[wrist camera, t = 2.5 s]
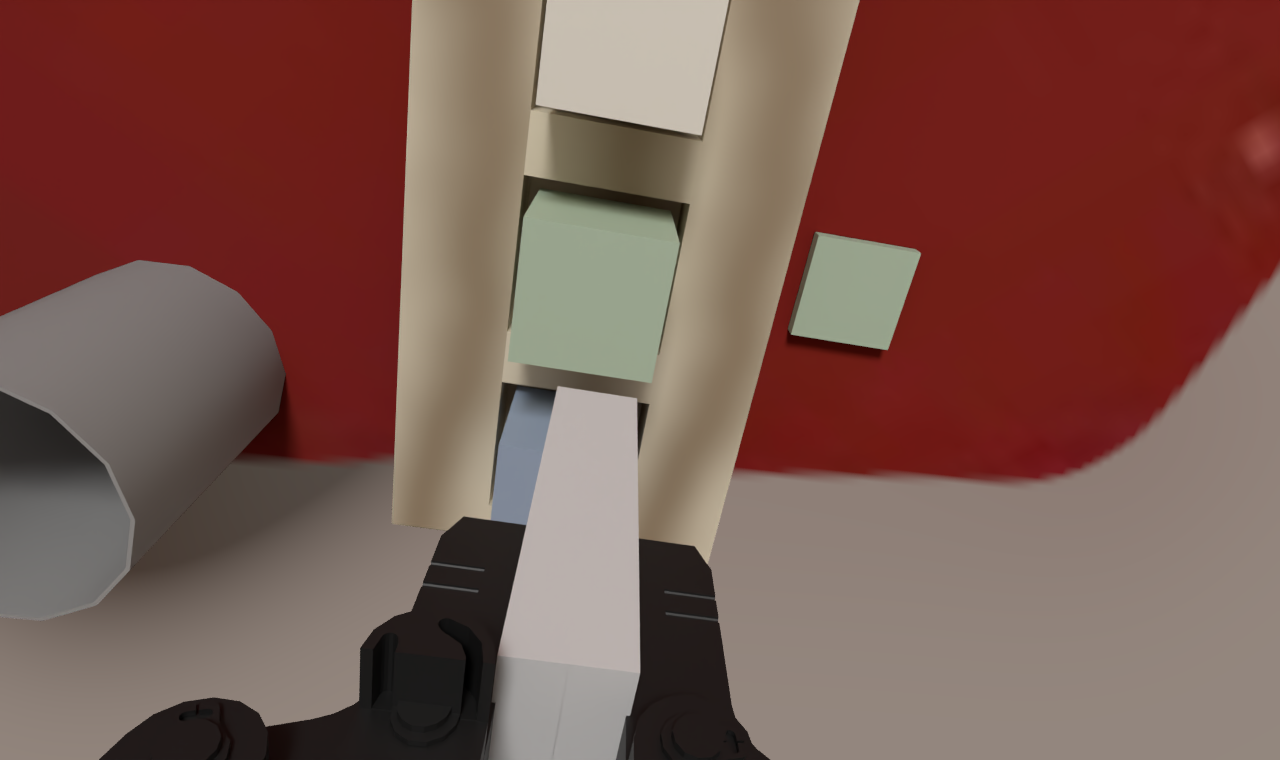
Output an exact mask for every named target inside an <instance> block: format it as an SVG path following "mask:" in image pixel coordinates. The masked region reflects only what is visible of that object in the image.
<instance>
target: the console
mask: <svg viewBox="0 0 1280 760" xmlns="http://www.w3.org/2000/svg"><path fill="white" fill-rule="evenodd" d="M546 4H547V0H412V23H411V48H410V74H409V99H408V124H407V150H406V175H405V200H404V226H403V251H402V277H401V302H400V327H399V353H398V378H397V403H396V429H395V454H394V480H393V506H392V507H393V508H392V524H398V525H406V526H413V527H421V528H429V529H436V530H444V531H447V530H449V529H450V528H451V527H452V526H453V525H454V524H455V523H457V522H458V521H459V520H460V519H461V518H462V517H464V516H465V517H472V518H479V519H486V520H491V511H492V502H493V493H494V484H495V474H496V465H497V456H498V447H499V442H500V439H501V436H502V433H503V430H504V427H505V423H506V420H507V417H508V414H509V411H510V407H511V404H512V401H513V398H514V395H515V392H516V388H517V386H523V387H530V388H537V389H543V390H550V391H557V387H558V386H560V387H567V388H573V389H580V390H586V391H593V392H599V393H606V394H612V395H619V396H625V397H632V398H637V438H638V522H639V538H640V539H647V540H654V541H662V542H669V543H676V544H683V545H690V546H695V547H696V549H697V550H698V552H699V553H700V555H701V556H702V557H703V559H704V560H705V562H706V563H707V565H708V562H709V558H710V554H711V550H712V547H713V543H714V539H715V536H716V532H717V528H718V524H719V521H720V517H721V513H722V509H723V505H724V501H725V498H726V494H727V491H728V487H729V483H730V480H731V476H732V472H733V469H734V465H735V461H736V457H737V454H738V450H739V446H740V443H741V439H742V435H743V431H744V428H745V424H746V420H747V417H748V413H749V409H750V405H751V402H752V398H753V394H754V391H755V387H756V383H757V379H758V376H759V372H760V368H761V365H762V361H763V357H764V353H765V350H766V346H767V342H768V338H769V335H770V331H771V327H772V324H773V320H774V316H775V312H776V309H777V305H778V301H779V298H780V294H781V290H782V286H783V283H784V279H785V275H786V272H787V268H788V264H789V260H790V257H791V253H792V249H793V246H794V242H795V238H796V234H797V231H798V227H799V223H800V220H801V216H802V212H803V208H804V205H805V201H806V197H807V193H808V190H809V186H810V182H811V179H812V175H813V171H814V167H815V164H816V160H817V156H818V153H819V149H820V145H821V141H822V138H823V134H824V130H825V127H826V123H827V119H828V115H829V112H830V108H831V104H832V101H833V97H834V93H835V89H836V86H837V82H838V78H839V75H840V71H841V67H842V63H843V60H844V56H845V52H846V49H847V45H848V41H849V37H850V34H851V30H852V26H853V22H854V19H855V15H856V11H857V8H858V4H859V0H729V2H728V7H727V12H726V17H725V22H724V27H723V32H722V37H721V42H720V47H719V52H718V57H717V62H716V67H715V72H714V77H713V82H712V87H711V92H710V97H709V102H708V106H707V111H706V116H705V121H704V126H703V131H702V135H696V134H691V133H685V132H680V131H674V130H669V129H664V128H658V127H653V126H647V125H642V124H636V123H631V122H626V121H620V120H615V119H609V118H604V117H599V116H593V115H588V114H582V113H577V112H571V111H566V110H561V109H555V108H550V107H544V106H539V105H536V97H537V87H538V78H539V69H540V60H541V50H542V41H543V32H544V23H545V14H546ZM540 188H543V189H548V190H554V191H560V192H566V193H571V194H577V195H583V196H589V197H594V198H600V199H606V200H612V201H617V202H623V203H629V204H635V205H640V206H646V207H652V208H658V209H663V210H669V211H671V213H672V217H673V221H674V224H675V228H676V231H677V235H678V239H679V242H680V245H679V250H678V255H677V260H676V265H675V270H674V275H673V280H672V285H671V290H670V295H669V300H668V305H667V309H666V314H665V319H664V324H663V329H662V334H661V339H660V344H659V349H658V354H657V359H656V364H655V369H654V374H653V379H652V383H647V382H641V381H634V380H628V379H621V378H614V377H608V376H601V375H595V374H588V373H581V372H575V371H568V370H562V369H555V368H548V367H542V366H535V365H529V364H522V363H515V362H509V361H508V355H509V345H510V336H511V327H512V318H513V309H514V299H515V290H516V281H517V272H518V262H519V253H520V244H521V235H522V226H523V217H524V215H525V213H526V212H527V210H528V208H529V207H530V205H531V203H532V201H533V200H534V198H535V196H536V195H537V193H538V191H539V190H540Z"/></svg>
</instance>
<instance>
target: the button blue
mask: <svg viewBox="0 0 1280 760" xmlns="http://www.w3.org/2000/svg"><path fill="white" fill-rule="evenodd" d="M555 396H556V391H550V390H543V389H537V388H530V387H523V386H517V388H516V392H515V395H514V398H513V401H512V404H511V407H510V411H509V414H508V417H507V420H506V423H505V427H504V430H503V433H502V436H501V439H500V442H499V447H498V456H497V465H496V474H495V484H494V493H493V502H492V511H491V520H493V521H501V522H508V523H515V524H522V525H527V521H528V516H529V512H530V507H531V503H532V499H533V494H534V490H535V485H536V481H537V476H538V472H539V467H540V463H541V458H542V454H543V449H544V445H545V441H546V436H547V432H548V427H549V423H550V418H551V414H552V409H553V405H554V400H555Z"/></svg>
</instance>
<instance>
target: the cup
mask: <svg viewBox="0 0 1280 760" xmlns="http://www.w3.org/2000/svg"><path fill="white" fill-rule="evenodd" d="M285 375H286V373H285V370H284V367H283V364H282V361H281V358H280V355H279V352H278V349H277V346H276V343H275V340H274V336H273V333H272V331H271V330H270V329H269V327H268V326H267V325H266V324H265V323H264V322H263V321H262V319H261V318H260V317H259V316H258V315H257V314H256V313H255V311H254V310H253V309H252V308H251V307H250V306H249V305H248V303H247V302H246V301H245V300H244V299H243V298H242V297H241V295H240V294H239V293H238V292H236V291H234V290H233V289H231V288H229V287H227V286H225V285H223V284H222V283H220V282H218V281H216V280H214V279H212V278H210V277H209V276H207V275H205V274H203V273H201V272H199V271H197V270H196V269H194V268H192V267H190V266H182V265H174V264H166V263H158V262H150V261H141V260H137V261H135V262H132V263H129V264H126V265H123V266H120V267H117V268H115V269H112V270H109V271H106V272H103V273H100V274H97V275H95V276H92V277H90V278H88V279H86V280H83V281H81V282H79V283H76V284H74V285H72V286H69V287H67V288H65V289H63V290H60V291H58V292H56V293H53V294H51V295H49V296H47V297H44V298H42V299H40V300H37V301H35V302H33V303H30V304H28V305H26V306H24V307H21V308H19V309H17V310H14V311H12V312H10V313H7V314H5V315H3V316H1V317H0V617H5V618H18V619H28V620H41V621H44V620H47V619H51V618H54V617H58V616H61V615H65V614H68V613H71V612H75V611H78V610H82V609H85V608H89V607H92V606H96V605H97V604H98V603H99V602H100V601H101V600H102V599H103V598H104V597H105V596H106V595H107V594H108V593H109V592H110V590H112V588H114V586H115V585H116V584H117V583H118V582H119V581H120V580H121V579H122V578H123V577H124V576H125V575H126V574H127V573H128V572H129V571H130V570H131V568H132V567H133V566H134V565H135V564H136V563H137V562H138V561H139V560H140V559H141V558H142V557H143V556H144V555H145V553H146V552H147V551H148V550H149V549H150V548H151V547H152V546H153V545H154V544H155V543H156V542H157V541H158V540H159V539H160V538H161V537H162V535H163V534H164V533H165V532H166V531H167V530H168V529H169V528H170V527H171V526H172V525H173V524H174V523H175V522H176V521H177V520H178V518H179V517H180V516H181V515H182V514H183V513H184V512H185V511H186V510H187V509H188V508H189V507H190V506H191V505H192V504H193V502H194V501H195V500H196V499H197V498H198V497H199V496H200V495H201V494H202V493H203V492H204V491H205V490H206V489H207V488H208V487H209V486H210V484H211V483H212V482H213V481H214V480H215V479H216V478H217V477H218V476H219V475H220V474H221V473H222V472H223V471H224V470H225V469H226V467H227V466H228V465H229V464H230V463H231V462H232V461H233V460H234V459H235V458H236V457H237V456H238V455H239V454H240V453H241V452H242V450H243V449H244V448H245V447H246V446H247V445H248V444H249V443H250V442H251V441H252V440H253V439H254V438H255V437H256V436H257V435H258V433H259V432H260V431H261V430H262V429H263V428H264V427H265V426H266V425H267V424H268V423H269V422H270V421H271V420H272V419H273V418H274V416H275V415H276V414H277V413H278V412H279V407H280V401H281V396H282V391H283V385H284V380H285Z"/></svg>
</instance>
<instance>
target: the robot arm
mask: <svg viewBox="0 0 1280 760" xmlns="http://www.w3.org/2000/svg"><path fill="white" fill-rule="evenodd" d="M360 650H361V651H360V693H359V696H360V697H359V701H358V702H357V703H355V704H354V705H352V706H350V707H347V708H345V709H343V710H341V711H339V712H336V713H334V714H331V715H327V716H323V717H319V718H315V719H311V720H305V721H299V722H292V723H286V724H281V725H274V726H268V727H265V725H264V723H263V721H262V719H261V717H260V715H259V713H257V712H256V711H254V710H253V709H251V708H250V707H248V706H246V705H245V704H243V703H242V702H240V701H234V700H227V699H220V698H207V699H201V700H194V701H187V702H183V703H181V704H178V705H176V706H173V707H171V708H168V709H166V710H163V711H161V712H158V713H156V714H153V715H152V716H151V717H149V718H148V719H147V720H145V721H144V722H142V723H141V724H140V725H138V726H137V727H135V728H134V729H133V730H131V731H130V732H128V733H127V734H126V735H125V736H124V737H123V738H122V739H121V740H120V741H118V742H117V744H115V745H114V746H113V747H112V748H111V749H110V750H109V751H108V752H107V753H106V754H105V755H103V756H102V757H101V758H100V759H99V760H770V759H769V758H767V757H766V756H765V755H764V754H762V753H761V752H760V751H758V750H757V749H756V748H755V747H754V745H753V744H752V743H751V740H750V738H749V735H748V732H747V731H746V730H745V729H744V727H743V726H742V725H741V724H740V723H739V722H738V721H737V719H736V718H735V715H734V712H733V708H732V705H731V698H730V691H729V686H728V678H727V671H726V665H725V659H724V652H723V645H722V638H721V632H720V626H719V623H718V612H717V605H716V601H715V592H714V586H713V579H712V572H711V569H710V568H709V566H708V565H707V563H706V562H705V560H704V559H703V557H702V556H701V555H700V553H699V552H698V550H697V549H696V547H695V546H690V545H683V544H676V543H669V542H662V541H654V540H647V539H640V538H639V522H638V438H637V398H632V397H625V396H619V395H612V394H606V393H599V392H593V391H586V390H580V389H573V388H567V387H560V386H558V387H557V391H556V396H555V400H554V405H553V409H552V414H551V418H550V423H549V427H548V432H547V436H546V441H545V445H544V449H543V454H542V458H541V463H540V467H539V472H538V476H537V481H536V485H535V490H534V494H533V499H532V503H531V507H530V512H529V516H528V521H527V525H522V524H515V523H508V522H501V521H493V520H486V519H479V518H472V517H465V516H464V517H462V518H461V519H460V520H459V521H458V522H457V523H455V524H454V525H453V526H452V527H451V528H450V529H449V530H447V531H446V532H445V533H444V534H443V535H442V536H441V538H440V540H439V543H438V546H437V548H436V551H435V553H434V556H433V558H432V561H431V566H429V569H428V571H427V573H426V576H425V578H424V581H423V586H422V587H421V589H420V591H419V594H418V596H417V599H416V601H415V604H414V606H413V609H412V611H411V612H408V613H404V614H401V615H397V616H394V617H393V618H391V619H390V620H388V621H387V622H385V623H383V624H382V625H380V626H379V627H377V628H376V629H374V630H373V632H372V633H371V634H370V636H369V637H368V638H367V640H366V641H365V642H364V644H363V645H362V647H361V648H360Z"/></svg>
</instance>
